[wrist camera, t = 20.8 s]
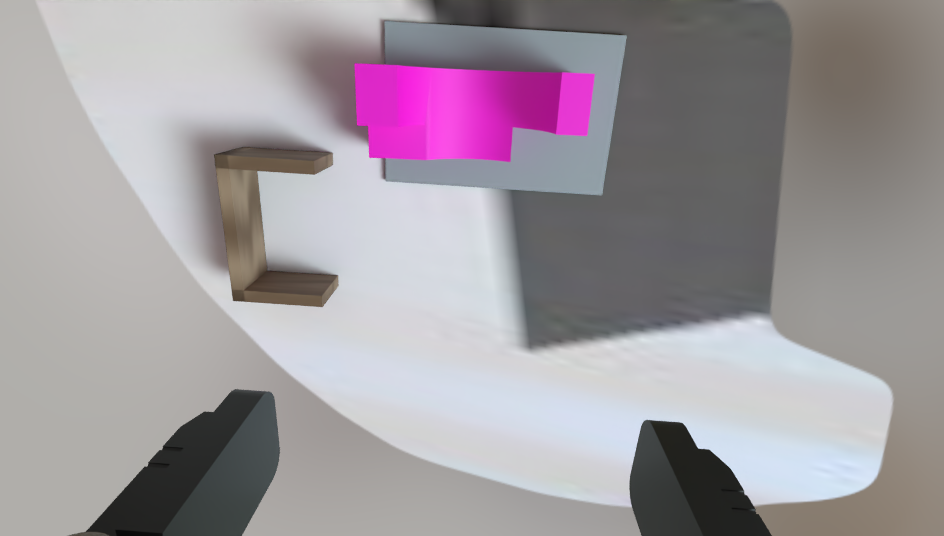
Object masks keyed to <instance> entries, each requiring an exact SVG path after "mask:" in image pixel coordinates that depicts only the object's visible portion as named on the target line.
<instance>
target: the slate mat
mask: <svg viewBox="0 0 944 536" xmlns="http://www.w3.org/2000/svg"><path fill="white" fill-rule="evenodd" d="M626 37H627V36H626V35H609V34H592V33H576V32H559V31H542V30H526V29H509V28H492V27H476V26H459V25H442V24H426V23H409V22H392V21H385V65H400V66H412V67H427V68H444V69H464V70H486V71H512V72H552V73H557V72H565V73H588V74H595V78H594V86H593V94H592V102H591V111H590V119H589V127H588V135H587V136H574V135H556V134H553V133H549V132H544V131H539V130H532V129H524V128H514V127H513V132H512V147H511V162H505V161H495V160H481V159H434V160H410V159H389V158H386V181H390V182H405V183H421V184H436V185H451V186H467V187H482V188H497V189H513V190H528V191H543V192H559V193H574V194H589V195H602V192H603V185H604V179H605V172H606V166H607V159H608V153H609V146H610V140H611V134H612V127H613V121H614V114H615V108H616V101H617V95H618V89H619V82H620V76H621V69H622V63H623V56H624V50H625V44H626Z"/></svg>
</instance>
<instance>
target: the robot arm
mask: <svg viewBox="0 0 944 536" xmlns="http://www.w3.org/2000/svg"><path fill="white" fill-rule="evenodd" d="M279 454H280V447H279V438H278V428H277V419H276V409H275V400H274V396H273V394H272V393H271V392H266V391H251V390H238V389H235V390H233V391H231V392H230V393H229V395H228V396H227V397H226V398H225V399H224V400H223V402H222V403H221V404H220V405H219V407H218V408H217V409H216V410H215V411H214V412H203V413H202V414H200V415H198V416H197V417H195V418H194V419H192V420H191V421H189V422H188V423H186V424H184V425H183V426H181V427H180V428H179V429H178V430H177V431H176V432H175V434H174V435H173V436H172V437H171V438H170V439H169V440H168V441H167V442H166V443H165V445H164V446H163V449H162V450H159V451H158V452H157V453H156V455H155V456H154V457H153V458H152V459H151V460H150V461H149V462H148V463H149V464H148V466H147V467H144V468H143V469H142V470H141V471H140V472H139V474H138V475H137V476H136V477H135V478H134V479H133V480H132V481H131V482H130V484H129V485H128V486H127V487H126V488H125V489H124V490H123V491H122V493H120V495H119V496H118V497H117V498H116V499H115V500H114V501H113V502H112V504H111V505H110V506H109V507H108V508H107V509H106V510H105V511H104V512H103V514H102V515H101V516H100V517H99V518H98V519H97V520H96V521H95V522H94V523H93V525H92V526H91V527H90V528H89V529H88V530H87V531H86V532H82V533H77V534H72V535H69V536H242V534H243V532H244V531H245V529H246V527H247V525H248V523H249V521H250V520H251V518H252V516H253V514H254V512H255V511H256V509H257V507H258V505H259V503H260V502H261V500H262V498H263V496H264V494H265V493H266V491H267V489H268V487H269V485H270V483H271V482H272V480H273V478H274V475H275V473H276V469H277V466H278V462H279ZM630 499H631V504H632V508H633V511H634V514H635V517H636V520H637V523H638V526H639V529H640V532H641V535H642V536H772V535H771V534H770V532H769V530H768V529H767V527H766V525H765V524H764V522H763V521H762V519H761V517H760V516H759V514H756V512H755V510H756V509H755V508H754V506H753V504H752V503H751V501H750V499H749V498H748V496H747V495H745V494H744V490H743V488H742V486H741V485H740V483H739V482H738V480H737V478H736V477H735V475H734V473H733V472H732V470H731V469H730V468H729V467H728V466H727V465H726V464H725V463H724V462H722V461H721V460H720V459H719V458H718V457H717V456H716V455H715V454H714V453H712V452H711V451H710V450H707V449H698V448H697V446H696V444H695V442H694V441H693V439H692V437H691V435H690V433H689V432H688V430H687V428H686V427H685V425H684V424H683V423H680V422H666V421H652V420H645V421H644V422H643V424H642V426H641V430H640V434H639V439H638V443H637V448H636V452H635V457H634V461H633V466H632V470H631V475H630Z"/></svg>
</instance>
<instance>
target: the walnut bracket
mask: <svg viewBox="0 0 944 536" xmlns="http://www.w3.org/2000/svg"><path fill="white" fill-rule="evenodd" d="M214 158H215V166H216V173H217V181H218V189H219V196H220V204H221V212H222V219H223V227H224V235H225V242H226V250H227V258H228V265H229V273H230V281H231V288H232V296H233V301H244V302H258V303H272V304H287V305H301V306H316V307H323V306H324V304H325V303H326V302H327V300H328V299H329V298H330V296H331V295H332V294H333V292H334V291H335V290H336V288H337V287H338V276H336V275H321V274H306V273H292V272H277V271H267V264H266V254H265V244H264V235H263V225H262V215H261V205H260V195H259V185H258V175H257V171H268V172H283V173H299V174H314V175H315V174H317V173H319V172H321V171H322V170H324V169H326V168H328V167H330V166H332V165H333V153H329V152H313V151H298V150H282V149H267V148H251V147H241V148H237V149H233V150H230V151H226V152H222V153H218V154H214Z"/></svg>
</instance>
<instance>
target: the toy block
mask: <svg viewBox="0 0 944 536" xmlns="http://www.w3.org/2000/svg"><path fill="white" fill-rule="evenodd" d="M594 78H595V74H588V73H565V72H557V73H552V72H512V71H486V70H464V69H444V68H427V67H412V66H400V65H380V64H357V63H355V87H356V111H357V126H368V136H369V158H389V159H410V160H434V159H481V160H495V161H505V162H511V147H512V132H513V127H514V128H524V129H532V130H539V131H544V132H549V133H553V134H556V135H574V136H587V135H588V127H589V119H590V111H591V102H592V94H593V86H594Z"/></svg>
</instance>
